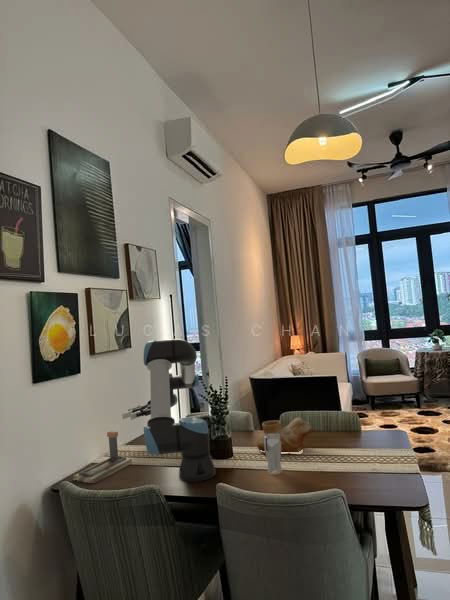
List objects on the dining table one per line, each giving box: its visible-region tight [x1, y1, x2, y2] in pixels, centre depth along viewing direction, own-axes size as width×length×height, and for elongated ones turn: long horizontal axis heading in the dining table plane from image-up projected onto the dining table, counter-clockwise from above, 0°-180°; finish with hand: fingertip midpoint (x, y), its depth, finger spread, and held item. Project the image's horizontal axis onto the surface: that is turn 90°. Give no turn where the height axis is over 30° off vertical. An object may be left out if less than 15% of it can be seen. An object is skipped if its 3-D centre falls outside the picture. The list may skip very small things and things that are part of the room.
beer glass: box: [264, 433, 283, 473], centre depth 174 cm, size 7×7×15 cm
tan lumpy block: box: [256, 416, 312, 452], centre depth 199 cm, size 14×26×15 cm, turn 80°
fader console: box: [72, 455, 133, 484], centre depth 189 cm, size 12×24×3 cm, turn 152°
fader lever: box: [106, 430, 120, 462], centre depth 196 cm, size 5×2×13 cm, turn 62°
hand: (127, 416), depth 206 cm, fingers open, 4 cm apart
